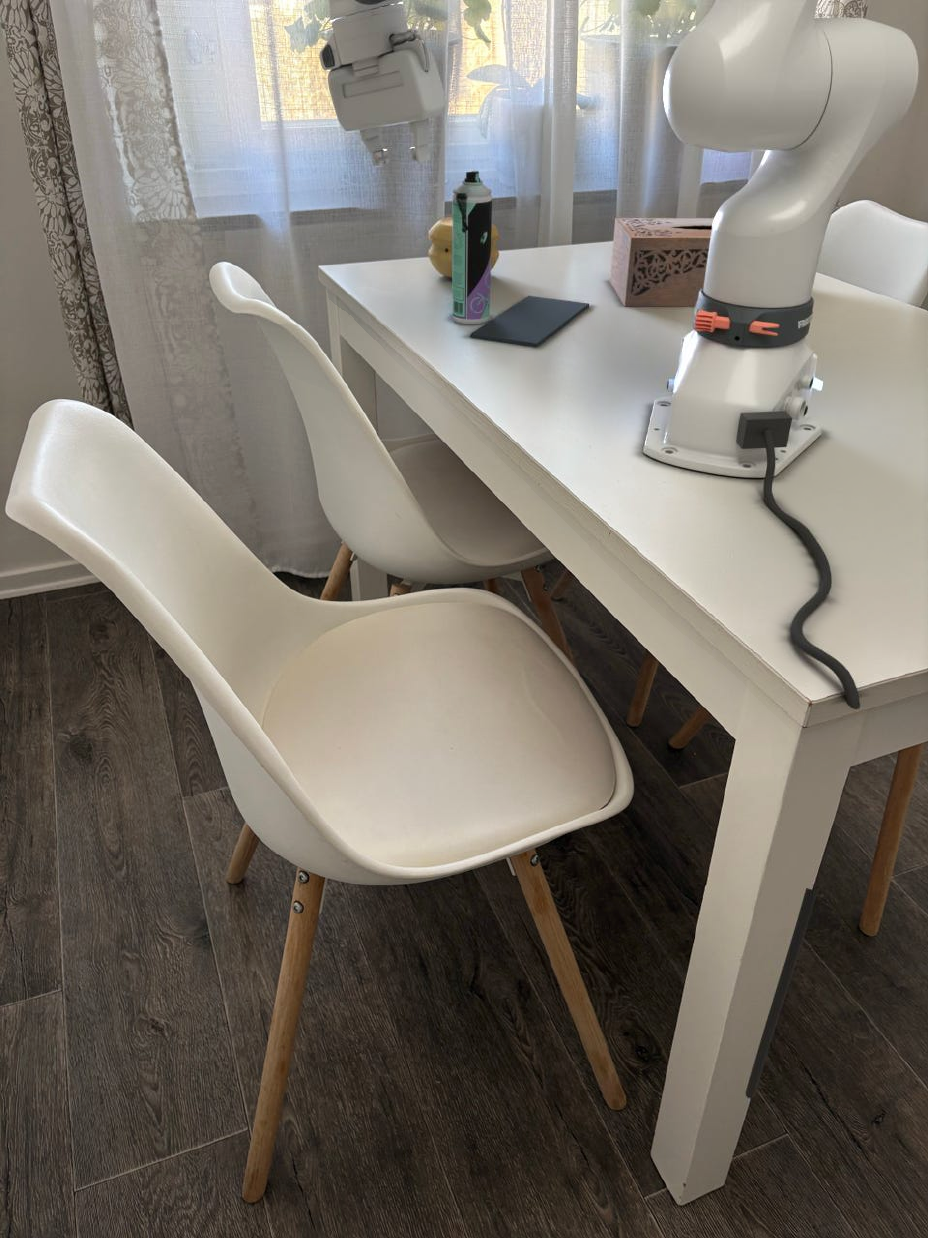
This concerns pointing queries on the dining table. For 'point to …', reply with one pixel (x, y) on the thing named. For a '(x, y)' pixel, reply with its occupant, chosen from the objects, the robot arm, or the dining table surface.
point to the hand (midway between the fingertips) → (402, 163)
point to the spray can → (471, 250)
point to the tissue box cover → (660, 260)
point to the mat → (530, 321)
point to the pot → (443, 246)
